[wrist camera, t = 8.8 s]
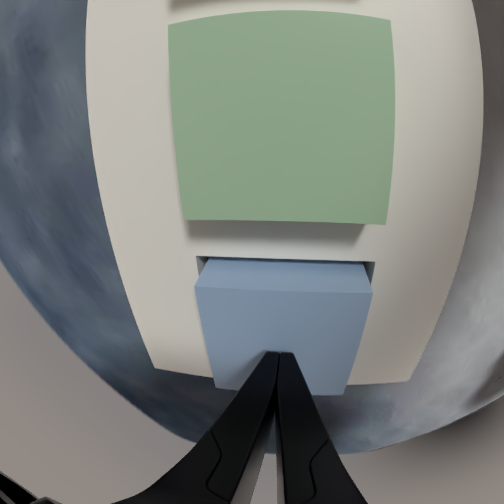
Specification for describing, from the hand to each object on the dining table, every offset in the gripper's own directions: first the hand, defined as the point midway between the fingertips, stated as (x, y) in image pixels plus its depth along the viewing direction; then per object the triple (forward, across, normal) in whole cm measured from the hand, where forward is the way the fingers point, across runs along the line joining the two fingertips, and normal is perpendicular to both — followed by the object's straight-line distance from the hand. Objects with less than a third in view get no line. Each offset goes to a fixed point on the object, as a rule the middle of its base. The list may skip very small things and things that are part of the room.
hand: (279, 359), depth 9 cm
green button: (+3, 0, -7) cm, 8 cm away
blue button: (+3, 0, 0) cm, 3 cm away
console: (+4, 0, -7) cm, 8 cm away
